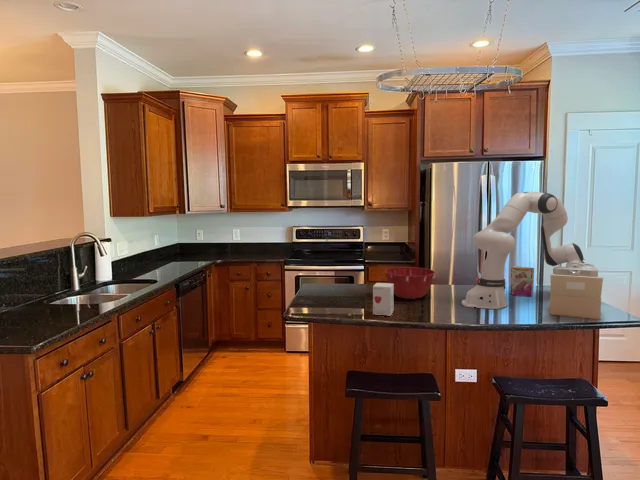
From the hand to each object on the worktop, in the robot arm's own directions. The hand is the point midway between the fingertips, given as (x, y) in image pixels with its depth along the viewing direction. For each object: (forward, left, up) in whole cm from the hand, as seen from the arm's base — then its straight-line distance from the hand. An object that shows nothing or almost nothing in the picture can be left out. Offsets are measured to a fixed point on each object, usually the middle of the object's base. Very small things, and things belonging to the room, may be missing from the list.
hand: (575, 273), depth 211 cm
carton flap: (-10, -30, -1) cm, 31 cm away
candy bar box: (-21, +19, -16) cm, 32 cm away
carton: (-6, -17, -16) cm, 24 cm away
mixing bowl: (-84, +7, -16) cm, 85 cm away
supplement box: (-96, -32, -16) cm, 102 cm away
